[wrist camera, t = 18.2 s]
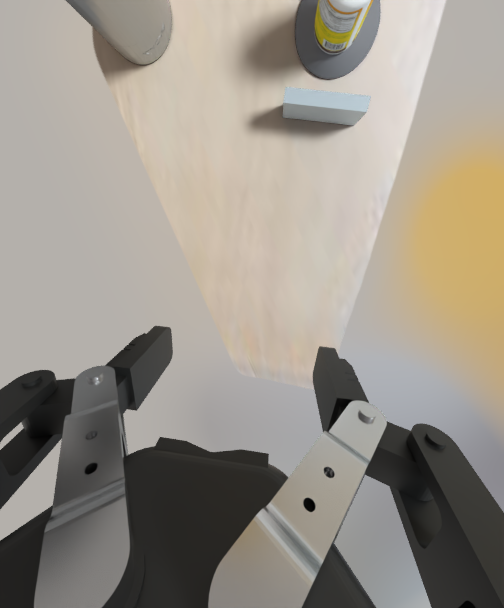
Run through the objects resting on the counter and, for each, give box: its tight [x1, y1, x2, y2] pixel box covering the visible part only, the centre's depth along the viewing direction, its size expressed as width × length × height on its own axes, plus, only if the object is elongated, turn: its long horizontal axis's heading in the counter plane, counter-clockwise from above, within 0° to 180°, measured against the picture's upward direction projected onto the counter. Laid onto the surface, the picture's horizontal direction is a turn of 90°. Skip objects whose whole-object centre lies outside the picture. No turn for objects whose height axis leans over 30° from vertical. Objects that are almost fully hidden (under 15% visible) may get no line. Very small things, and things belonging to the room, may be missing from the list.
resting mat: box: [295, 0, 380, 79], centre depth 28 cm, size 10×10×1 cm
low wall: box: [283, 87, 371, 125], centre depth 30 cm, size 10×2×5 cm, turn 83°
